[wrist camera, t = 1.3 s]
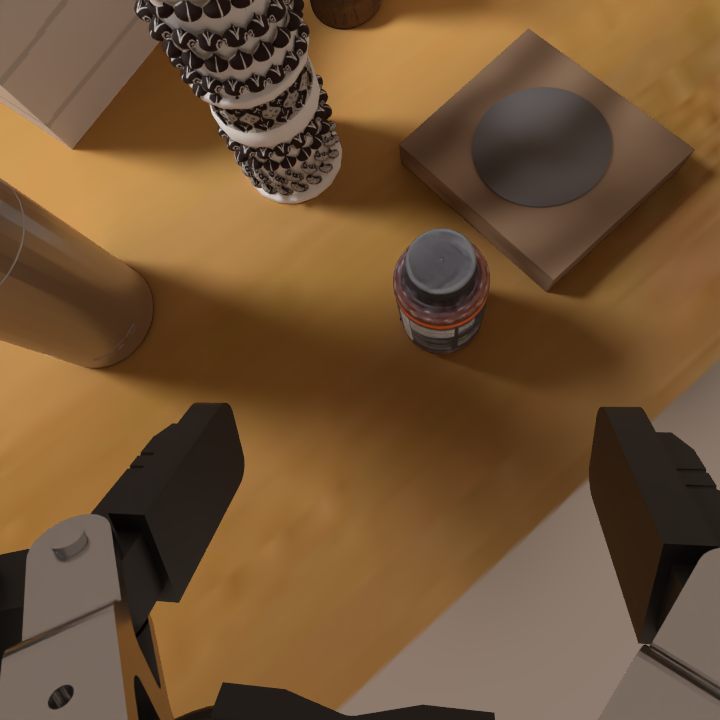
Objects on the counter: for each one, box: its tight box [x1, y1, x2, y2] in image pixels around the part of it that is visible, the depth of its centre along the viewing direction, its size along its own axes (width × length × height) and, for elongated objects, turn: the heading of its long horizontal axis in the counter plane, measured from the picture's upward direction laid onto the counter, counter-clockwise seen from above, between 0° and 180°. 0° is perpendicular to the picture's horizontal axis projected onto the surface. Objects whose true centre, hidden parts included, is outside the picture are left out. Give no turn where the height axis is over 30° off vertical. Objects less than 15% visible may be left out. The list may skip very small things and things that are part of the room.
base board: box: [399, 29, 695, 292], centre depth 40 cm, size 16×14×3 cm
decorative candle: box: [134, 0, 342, 204], centre depth 33 cm, size 9×9×25 cm
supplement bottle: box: [393, 228, 490, 354], centre depth 35 cm, size 6×6×11 cm
